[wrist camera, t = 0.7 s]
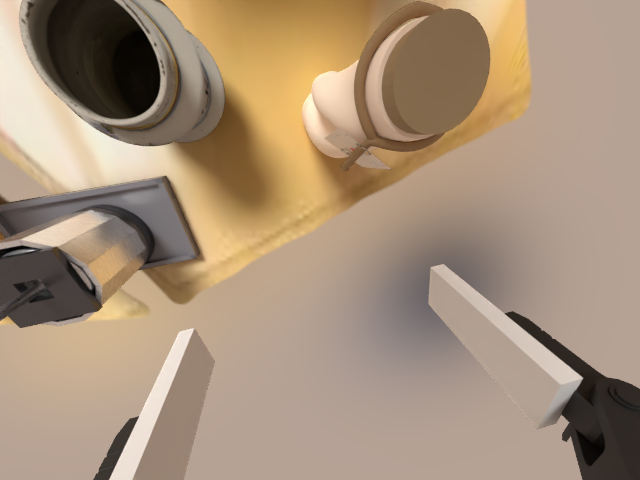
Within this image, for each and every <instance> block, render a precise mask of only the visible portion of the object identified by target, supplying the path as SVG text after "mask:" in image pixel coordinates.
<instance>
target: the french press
mask: <svg viewBox="0 0 640 480" xmlns="http://www.w3.org/2000/svg"><path fill="white" fill-rule="evenodd" d="M22 248H39V249H40V250H35V251H30V252H25V253H19V254H14V255H9V256H4V255H5V254H8V253H10V252H12V251H15V250H18V249H22ZM154 248H155V241H154V237H153V234H152V232H151V230H150V228H149V227H148V226H147V224H146V223H145V222H144V221H143V220H142V219H141V218H139V217H138V216H137V215H135V214H134V213H132V212H130V211H128V210H126V209H124V208H121V207H118V206H113V205H106V204H99V205H93V206H89V207H86V208H84V209H81V210H79V211H76V212H74V213H70V214H67V215H64V216H61V217H59V218H56V219H54V220H51V221H49V222H46V223H44V224H41V225H38V226H36V227H33V228H31V229H28V230H26V231H23V232H21V233H18V234H16V235H13V236H10V237H8V238H5V239H3V240H0V307H1V306H2V305H4V304H6V303H7V302H9V301H10V300H12V299H13V298H15V297H17V296H18V295H20V294H21V293H23V292H25V291H26V290H28V288H27V287H26V286H25V285H24V284H23V283H22V282H27V281H32V280H37V279H40V280H41V282H42V283H43V284H44V285H45V286H46V287H47V289H48V290H49V291H50V292H51V293H52V295H51V296H46V297H41V298H36V297H35V298H33V299H32V300H30V301H29V302H27V303H26V304H24V305H23V306H21V307H20V308H18V309H17V310H16V311H14V312H13V313H11V314H10V315H8V317H9V318H10V319H11V320H12V321H13V322H14V323H16V324H17V325H18V326H19V327H20V328H23V327H28V326H32V325H37V324H47V325H55V326H62V325H66V324H71V323H76V322H80V321H85V320H87V319H88V318H89V317H90V316H91V315H92V314H93V313H94V312H97V311H99V310H100V309H101V308H102V305H103V304H104V303H105V302H106V301H107V300H108V299H109V298H110V297H111V296H112V295H113V294H114V293H115V292H116V291H117V290H118V289H119V288H120V287H121V286H122V285H123V284H124V283H125V282H126V281H127V280H128V279H129V278H130V277H131V276H132V275H133V274H134V273H135V272H136V271H137V270H139V269H140V268H141V267H142V266H143V265H144V264H145V263H146V262H147V261H148V260H149V259H150V257H151V256H152V254H153V252H154ZM2 256H3V257H2ZM67 259H69V260H70V261H72V262H74V263H75V264H77V265H79V266H81V267H82V268H83V269H84V271H85V272H86V274H87V275H88V276H89V278H90V279H91V280H92V282H93V283H94V285H95V294H94V295H93V293H92V292H91V291H90V289H89V288H88V287H87V285H86V284H85V283H84V281H83V280H82V279H81V277H80V276H79V275H78V273H77V272H76V271H75V269H74V268H73V267H72V265H71V264H70V262H69V261H68V260H67Z"/></svg>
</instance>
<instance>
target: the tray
mask: <svg viewBox="0 0 640 480" xmlns="http://www.w3.org/2000/svg"><path fill="white" fill-rule="evenodd" d="M99 204H106V205H113V206H118V207H121V208H124V209H126V210H128V211H130V212H132V213H134V214H135V215H137V216H138V217H139V218H141V219H142V220H143V221H144V222H145V223H146V224H147V226H148V227H149V228H150V230H151V232H152V234H153V237H154V241H155V248H154V252H153V254H152V256H151V257H150V259H149V260H148V261H147V262H146V263H145V264H144V265H143V266H142V267H141V268H140V269H139V270H141V269H146V268H151V267H156V266H161V265H166V264H171V263H176V262H181V261H185V260H190V259H195V258H197V257H198V256H199V254H200V252H199V250H198V248H197V246H196V243H195V241H194V239H193V236H192V234H191V232H190V230H189V227H188V225H187V223H186V220H185V218H184V216H183V214H182V211H181V209H180V207H179V204H178V202H177V200H176V197H175V195H174V193H173V191H172V188H171V186H170V184H169V181H168V179H167V177H166V176H161V177H156V178H150V179H144V180H138V181H132V182H126V183H120V184H114V185H109V186H103V187H97V188H91V189H85V190H79V191H73V192H68V193H62V194H56V195H50V196H45V197H38V198H32V199H26V200H21V201H15V202H9V203H3V204H0V232H1V233H2V234H3V235H4V237H5V238H8V237H10V236H13V235H16V234H18V233H21V232H23V231H26V230H28V229H31V228H33V227H36V226H38V225H41V224H44V223H46V222H49V221H51V220H54V219H56V218H59V217H61V216H64V215H67V214H70V213H74V212H76V211H79V210H81V209H84V208H86V207H89V206H93V205H99Z"/></svg>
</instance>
